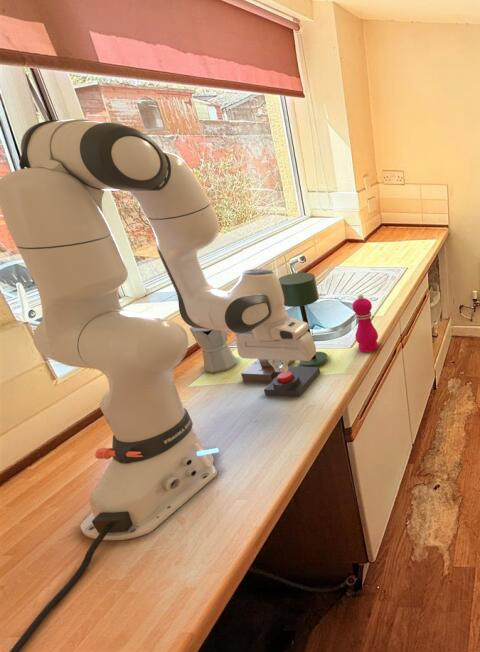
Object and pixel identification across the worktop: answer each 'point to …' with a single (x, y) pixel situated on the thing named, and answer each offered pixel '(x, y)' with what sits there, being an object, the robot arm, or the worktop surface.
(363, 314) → the pepper mill
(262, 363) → the dimmer knob
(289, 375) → the lamp button
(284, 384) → the switch block
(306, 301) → the desk lamp
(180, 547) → the worktop surface
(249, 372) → the dimmer panel
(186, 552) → the worktop surface
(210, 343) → the coffee maker
